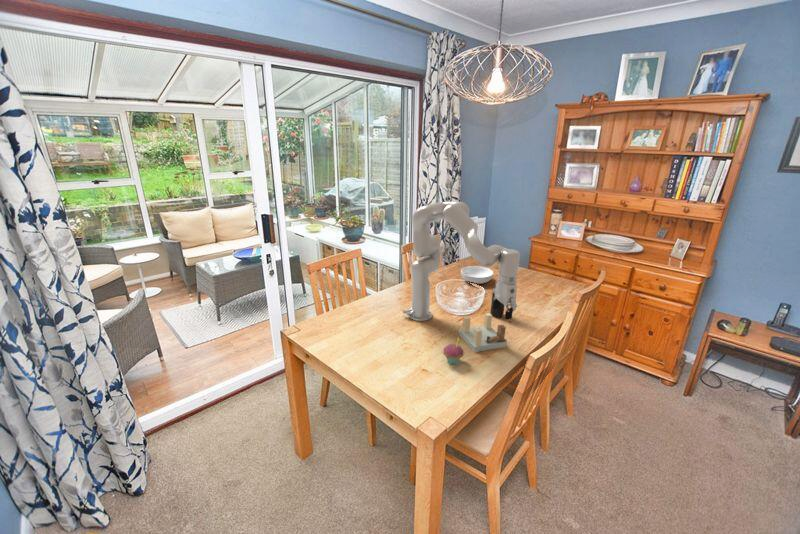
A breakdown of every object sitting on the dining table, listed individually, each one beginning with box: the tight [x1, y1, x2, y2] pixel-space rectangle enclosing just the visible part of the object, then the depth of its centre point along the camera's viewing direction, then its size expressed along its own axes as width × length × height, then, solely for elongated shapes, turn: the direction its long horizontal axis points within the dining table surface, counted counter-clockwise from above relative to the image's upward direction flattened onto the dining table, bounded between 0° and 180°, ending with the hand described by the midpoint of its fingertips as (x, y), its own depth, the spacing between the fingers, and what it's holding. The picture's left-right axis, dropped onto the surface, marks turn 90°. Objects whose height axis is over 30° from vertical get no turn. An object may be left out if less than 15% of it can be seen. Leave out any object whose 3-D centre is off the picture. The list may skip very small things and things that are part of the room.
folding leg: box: [487, 324, 507, 342], centre depth 158 cm, size 8×2×7 cm, turn 104°
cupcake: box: [442, 337, 465, 365], centre depth 147 cm, size 9×8×12 cm
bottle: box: [489, 278, 505, 318], centre depth 184 cm, size 7×7×20 cm
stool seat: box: [458, 312, 508, 353], centre depth 163 cm, size 16×16×10 cm
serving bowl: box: [460, 265, 494, 285], centre depth 231 cm, size 21×21×7 cm
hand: (501, 313), depth 155 cm, fingers open, 9 cm apart
